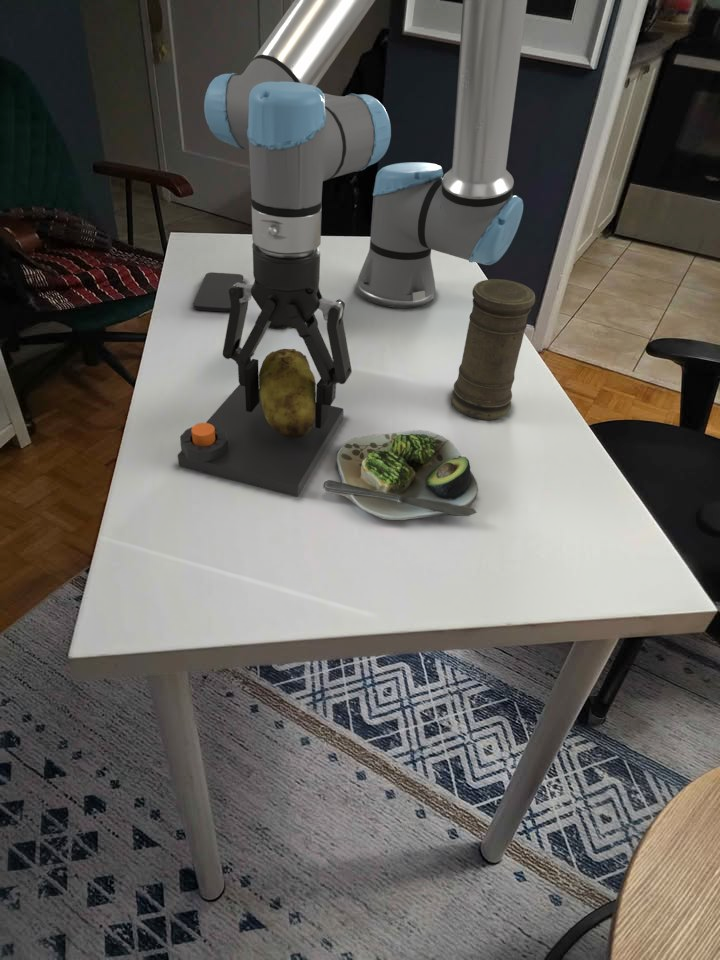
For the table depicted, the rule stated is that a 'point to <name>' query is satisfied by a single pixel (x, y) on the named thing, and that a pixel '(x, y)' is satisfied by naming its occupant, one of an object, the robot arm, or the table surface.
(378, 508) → the salad plate
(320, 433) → the scale
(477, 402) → the container
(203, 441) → the button
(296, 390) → the potato
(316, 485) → the table surface
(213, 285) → the phone
